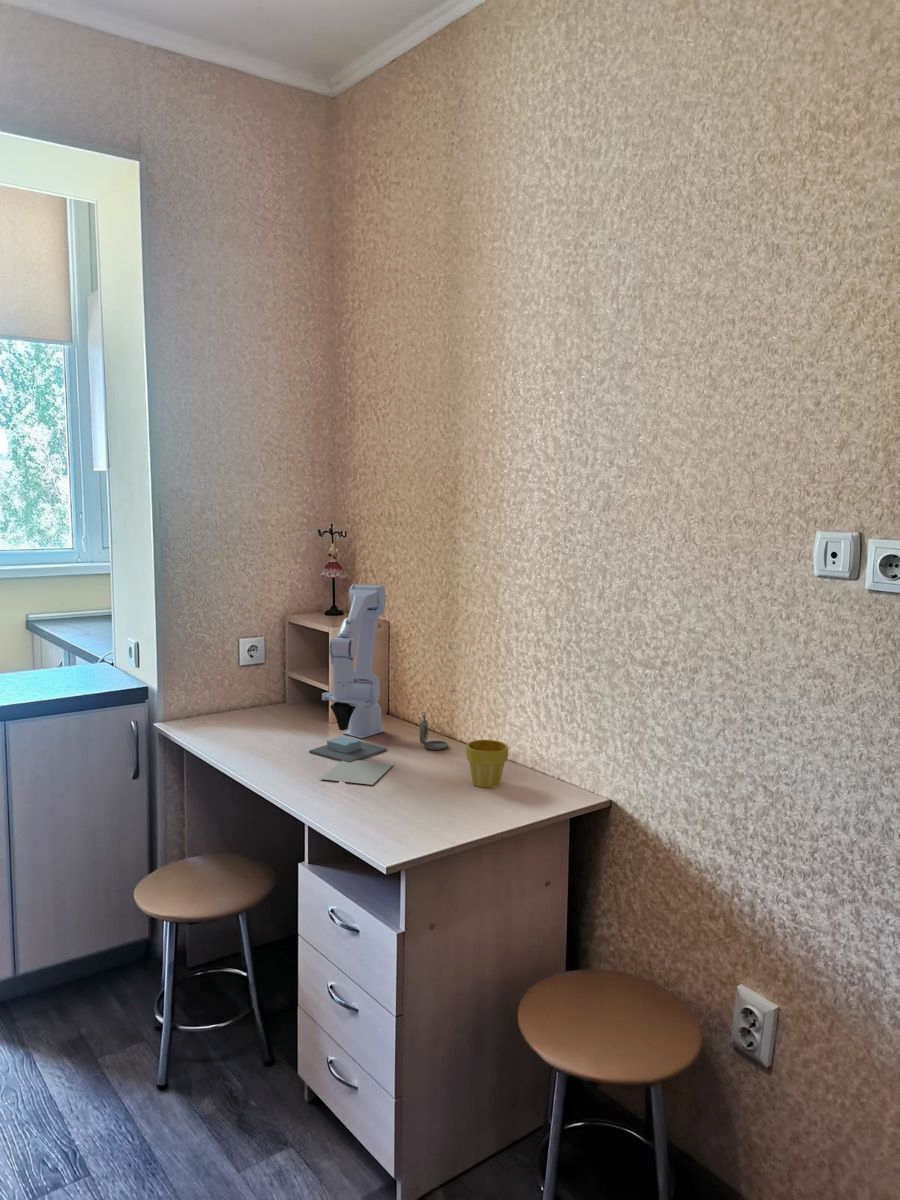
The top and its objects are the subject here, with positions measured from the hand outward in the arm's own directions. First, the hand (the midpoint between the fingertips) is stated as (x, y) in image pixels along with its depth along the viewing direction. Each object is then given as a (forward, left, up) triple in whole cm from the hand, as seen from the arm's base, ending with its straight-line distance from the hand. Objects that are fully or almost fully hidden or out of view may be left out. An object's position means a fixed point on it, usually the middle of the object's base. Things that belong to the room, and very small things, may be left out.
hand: (343, 729), depth 238 cm
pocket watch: (-18, +17, -6) cm, 25 cm away
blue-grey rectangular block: (0, +4, -4) cm, 6 cm away
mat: (0, +2, -6) cm, 6 cm away
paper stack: (+13, +22, -6) cm, 26 cm away
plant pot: (-3, +46, -6) cm, 46 cm away
